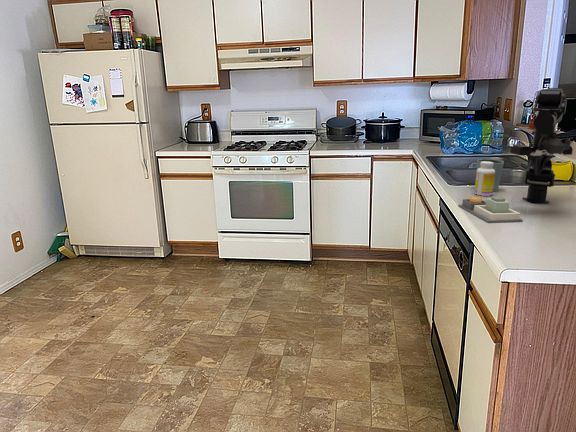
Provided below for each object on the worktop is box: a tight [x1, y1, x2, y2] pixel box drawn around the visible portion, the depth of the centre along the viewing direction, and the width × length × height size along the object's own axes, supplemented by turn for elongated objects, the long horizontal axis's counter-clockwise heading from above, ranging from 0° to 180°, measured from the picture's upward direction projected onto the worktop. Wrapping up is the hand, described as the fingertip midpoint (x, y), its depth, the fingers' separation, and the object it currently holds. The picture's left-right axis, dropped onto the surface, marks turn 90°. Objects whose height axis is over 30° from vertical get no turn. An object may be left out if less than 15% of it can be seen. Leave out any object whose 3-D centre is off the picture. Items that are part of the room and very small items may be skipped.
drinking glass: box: [476, 158, 505, 192], centre depth 182 cm, size 10×10×12 cm
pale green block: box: [485, 196, 511, 213], centre depth 145 cm, size 6×4×6 cm
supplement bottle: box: [473, 161, 495, 197], centre depth 174 cm, size 7×7×13 cm
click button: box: [469, 195, 483, 203], centre depth 154 cm, size 4×4×3 cm
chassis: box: [457, 198, 523, 224], centre depth 149 cm, size 20×12×3 cm, turn 6°
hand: (537, 175), depth 152 cm, fingers closed
